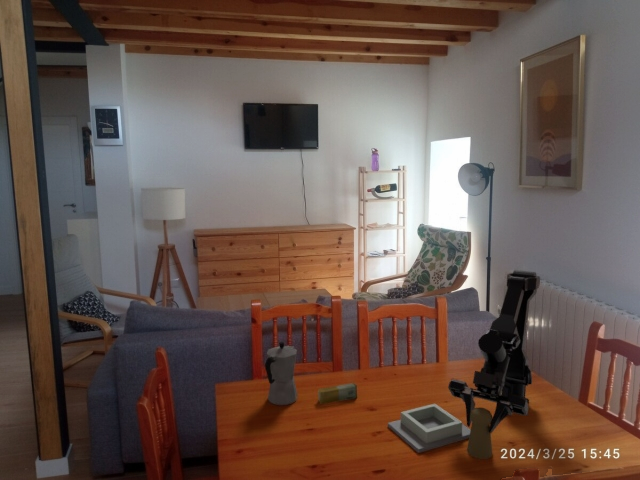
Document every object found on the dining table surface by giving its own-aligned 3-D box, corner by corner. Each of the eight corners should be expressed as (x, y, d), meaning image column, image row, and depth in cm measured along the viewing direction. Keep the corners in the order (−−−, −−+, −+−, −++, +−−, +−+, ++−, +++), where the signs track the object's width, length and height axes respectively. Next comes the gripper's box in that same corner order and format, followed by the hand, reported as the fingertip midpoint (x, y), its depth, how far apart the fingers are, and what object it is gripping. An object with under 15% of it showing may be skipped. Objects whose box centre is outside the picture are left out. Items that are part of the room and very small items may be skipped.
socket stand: (440, 412, 141) (441, 399, 141) (475, 436, 129) (475, 421, 128) (387, 426, 134) (387, 412, 133) (418, 453, 121) (418, 438, 121)
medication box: (354, 394, 153) (354, 382, 153) (357, 398, 150) (357, 385, 150) (317, 401, 149) (317, 388, 148) (321, 404, 146) (320, 392, 146)
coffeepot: (280, 386, 158) (279, 333, 156) (306, 392, 154) (305, 337, 151) (253, 407, 145) (252, 349, 142) (281, 414, 140) (280, 354, 138)
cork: (494, 460, 118) (496, 417, 116) (468, 457, 119) (469, 415, 118) (490, 446, 124) (492, 405, 122) (465, 443, 125) (467, 403, 123)
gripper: (451, 349, 127) (434, 406, 119) (528, 365, 116) (514, 429, 109) (461, 368, 134) (445, 422, 127) (534, 385, 124) (520, 445, 116)
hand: (478, 429), depth 119 cm, fingers closed on cork, 5 cm apart
